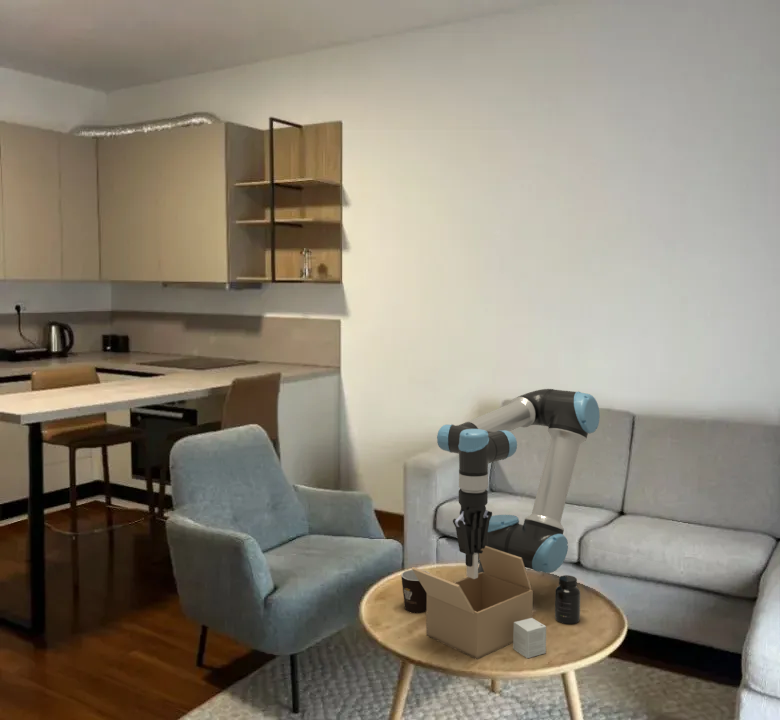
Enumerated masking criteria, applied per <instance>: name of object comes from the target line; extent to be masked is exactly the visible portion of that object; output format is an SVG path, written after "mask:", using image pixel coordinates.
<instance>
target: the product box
mask: <svg viewBox="0 0 780 720" xmlns="http://www.w3.org/2000/svg"><path fill="white" fill-rule="evenodd" d="M512 648H513V650H514V651H515V652H517V653H519V654H520V655H521V656H523V657H525V658H526V659H530V658H534V657H537V656H540V655H544V654H546V653H547V625H545V624H543V623H541V622H540V621H538V620H536V619H535V618H533V617H532V618H529V619H525V620H521V621H517V622H514V631H513V643H512Z"/></svg>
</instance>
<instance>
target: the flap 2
mask: <svg viewBox="0 0 780 720" xmlns="http://www.w3.org/2000/svg"><path fill="white" fill-rule="evenodd" d="M481 550H482V551H483V552H482V553H479V559H480V562H481V564H482V567H483V570H484V573H486V574H489V575H492V576H495V577H497V578H500V579H503V580H506V581H508V582H511V583H514V584H516V585H519V586H522V587H525V588H527V589H530V590H532V586H531V582H530V579H529V576H528V573H527V572H528V571H527V570H526V567H525V566H524V563H523V560H522V558H521V557H518V556H515V555H512V554H509V553H506V552H503V551H500V550H497V549H494V548H491V547H488V546H485V548H484V549H481Z"/></svg>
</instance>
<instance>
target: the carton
mask: <svg viewBox="0 0 780 720" xmlns="http://www.w3.org/2000/svg"><path fill="white" fill-rule="evenodd" d="M453 583H455V584H458V585H459V586H460V587H461V589H462V591H463V592H464V594H465V596H466V598H467V599H468V601H469V603H470V605H471V606H472V608H473V610H474V611H475V613H474V614H472V613H470V612H467V611H465V610H463V609H460V608H458V607H456V606H453V605H451V604H448V603H446V602H444V601H441V600H439V599H436V598H434V597H432V596H429V595H428V594H427V610H426V617H425V618H426V623H425V624H426V627H425V628H426V629H425V630H426V631H425V632H426V633H425V634H426V636H427V637H429V638H431V639H432V640H435V641H437V642H439V643H441V644H444V645H445V646H447V647H450V648H452V649H453V650H455V651H458V652H460V653H462V654H464V655H466V656H469V657H471V658H473V659H475V660H479V659H481V658H484V657H485V656H487V655H490V654H492V653H493V652H497V651H498V650H500V649H503V648H505V647H506V646H508V645H510V644H513V631H514V622H517V621H521V620H525V619H529V618H533V605H534V604H533V603H534V602H533V600H534V598H533V597H534V594H533V593H534V591H533V590H532V589H527V588H525V587H522V586H519V585H516V584H514V583H511V582H508V581H506V580H503V579H500V578H497V577H495V576H492V575H489V574H486V573H484V572H480V573H478V578H476V579H472V578H470V577H467V576H466V577H464V578H462V579H459V580H456V581H453Z"/></svg>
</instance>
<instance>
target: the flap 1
mask: <svg viewBox="0 0 780 720" xmlns="http://www.w3.org/2000/svg"><path fill="white" fill-rule="evenodd" d="M411 570H413V572H414V573H415V575H416V577H417V578H418V580H419V581H420V583H421V585H422V586H423V588H424V590H425V591H426V593H427V594H428V595H429V596H432V597H434V598H436V599H439V600H441V601H444V602H446V603H448V604H451V605H453V606H456V607H458V608H460V609H463V610H465V611H467V612H470V613H472V614H474V613H475V611H474V610H473V608H472V606H471V605H470V603H469V601H468V599H467V598H466V596H465V594H464V592H463V591H462V589H461V587H460V586H459V585H458V584H455V583H453V582H454V581H453V582H452V581H450V580H447V579H444V578H442V577H440V576H437V575H435V574H432V573H431V572H429V573H427V572H428V571H427V572H425V571H426V570H424V571H422V570H423V569H419V568H416V567H414V566H413V567H412V568H411Z"/></svg>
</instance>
